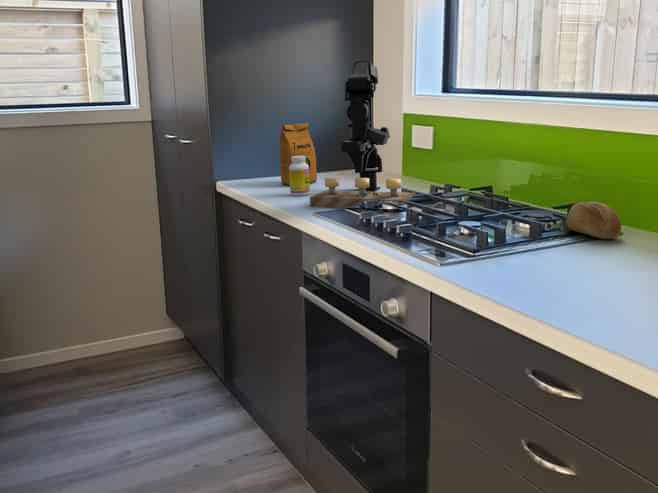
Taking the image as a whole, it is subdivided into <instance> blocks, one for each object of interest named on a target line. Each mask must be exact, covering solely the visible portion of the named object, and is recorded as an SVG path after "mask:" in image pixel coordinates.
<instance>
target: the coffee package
mask: <svg viewBox="0 0 658 493" xmlns="http://www.w3.org/2000/svg"><path fill="white" fill-rule="evenodd" d="M308 128H309V122H304V123H297V124H283V125H281V128H280V136H279V144H278V150H279V167H280V168H279V170H280V179H281V182H280V183H281V184H282V185H287V186H290V176H289V166H290V165H291V164H292V160H291V157H293V156H305V159H306V160H305V163H306V164H307V165H308V166H309V181H310V184H315V183H317V180H318V174H317V158H316V157H317V156H316V152H315V151H316V150H315V147H314V144H313V141H312V138H311V136H310V132H309V129H308Z"/></svg>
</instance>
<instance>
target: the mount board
mask: <svg viewBox="0 0 658 493" xmlns="http://www.w3.org/2000/svg"><path fill="white" fill-rule="evenodd" d="M335 191H336V195H329V189H325V190H323V191H320V192H318V193H316V194H313V195H311V196H309V207H312V208H313V207H314V208H315V207H316V208H333V209H334V208H335V209H346V208H345V207H346V206H354V205H357V204H358V202H360V201H364V202H365V201H367V200H377V201H392V202H398V203H405V202H406V201H408V200H410V199H411V198H412V197H413V196H414V195H417V194H416V192H405V191H404V192H398V191H397V197H391V196H390V191H366V196H364V197H362V198H361V197H359V196H358V194H359V191H357V190H337V189H335ZM374 192H375V193H377V194H378V195H377V196H374V195H373V193H374Z"/></svg>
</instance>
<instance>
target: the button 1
mask: <svg viewBox="0 0 658 493" xmlns="http://www.w3.org/2000/svg"><path fill="white" fill-rule="evenodd" d="M339 186H340V177H338V176H329V177H324V187H325V188H328V190H329V195H336V191H335V190H336V188H337V187H339Z"/></svg>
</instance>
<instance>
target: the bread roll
mask: <svg viewBox="0 0 658 493" xmlns="http://www.w3.org/2000/svg"><path fill="white" fill-rule="evenodd" d="M565 223H566V225H567V227H568V228H569V229H570V230H571V231H573V232H577V233H581V234H584V235H588V236H590V237H593V238H594V237H595V238H598V239H601V240H602V239H603V240H611V239H616V238H618V236H619V235H620V234H621V231H622V222H621V219H620V217H619V215H618V213H617V212H616V211H615V209H613V208H612V207H611V206H609V205H608V204H605V203H603V202H598V201H597V202H596V201H587V202H584V201H580V202H578V203H575V204H573V205H572V206H571V207H570V209H569V212H568V214H567V217H566V221H565Z"/></svg>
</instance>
